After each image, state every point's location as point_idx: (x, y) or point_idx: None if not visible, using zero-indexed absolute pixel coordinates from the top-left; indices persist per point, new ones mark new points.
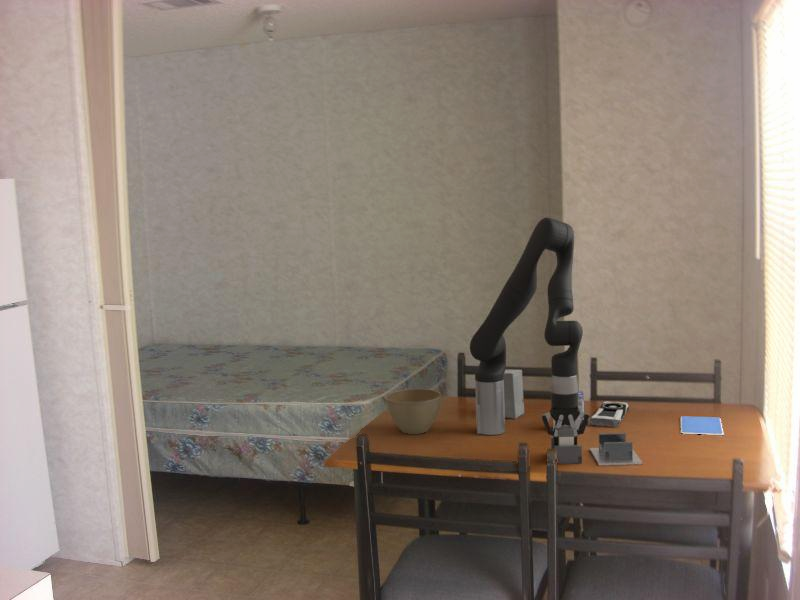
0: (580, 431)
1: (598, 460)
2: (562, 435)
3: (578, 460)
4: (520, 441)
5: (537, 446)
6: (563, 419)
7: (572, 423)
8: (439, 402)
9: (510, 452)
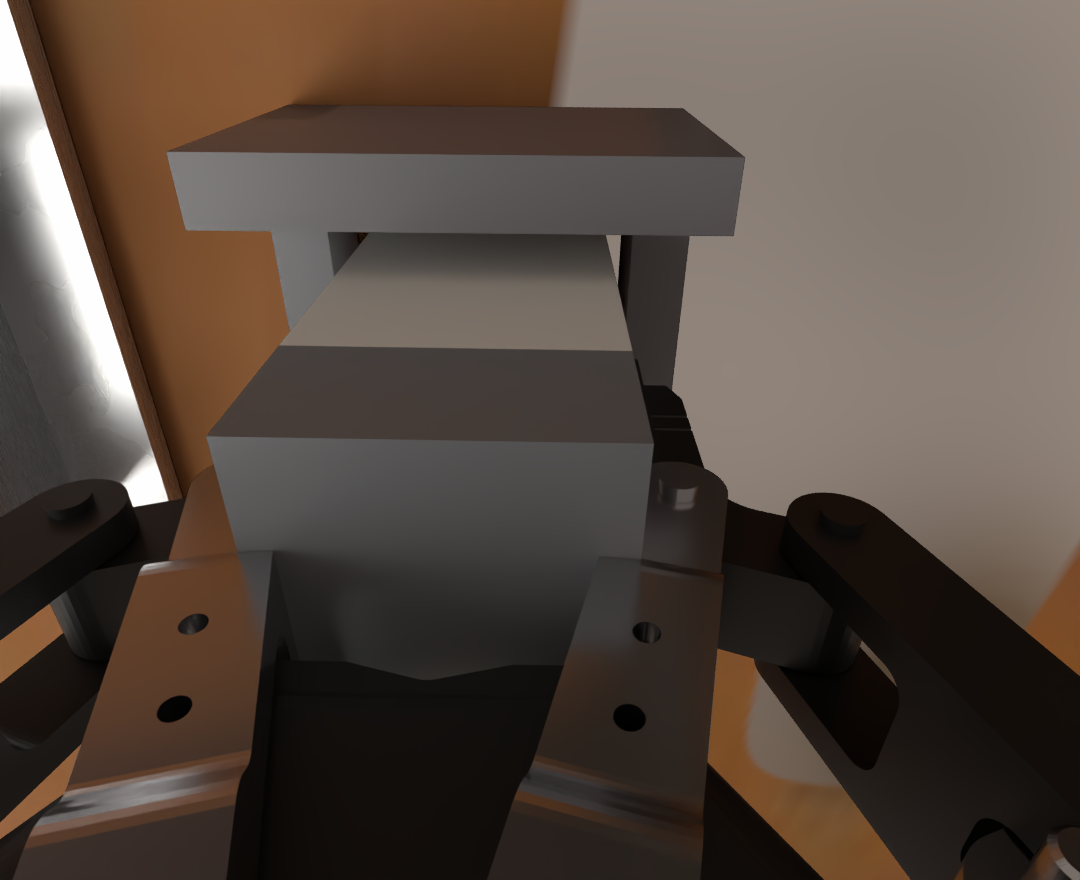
0: (89, 517)
1: (24, 119)
2: (557, 368)
3: (325, 110)
4: (837, 807)
5: (727, 699)
6: (470, 849)
7: (180, 669)
8: None
9: (1072, 577)
